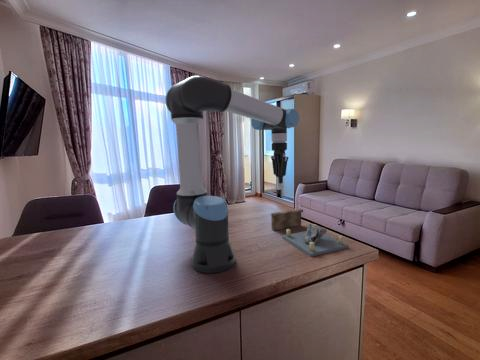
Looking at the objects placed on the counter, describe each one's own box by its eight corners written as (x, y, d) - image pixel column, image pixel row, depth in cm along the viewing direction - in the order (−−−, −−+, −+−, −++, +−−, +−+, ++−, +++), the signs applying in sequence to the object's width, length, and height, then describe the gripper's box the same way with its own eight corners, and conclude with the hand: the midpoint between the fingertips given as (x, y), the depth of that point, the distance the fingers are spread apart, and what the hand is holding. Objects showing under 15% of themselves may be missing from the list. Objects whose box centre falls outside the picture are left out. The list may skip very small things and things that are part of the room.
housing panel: (274, 231, 118) (274, 214, 116) (271, 229, 120) (271, 212, 119) (303, 226, 123) (303, 210, 122) (299, 224, 126) (299, 208, 125)
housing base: (310, 256, 91) (311, 245, 91) (282, 238, 110) (282, 229, 109) (348, 247, 98) (348, 237, 97) (315, 231, 116) (315, 223, 116)
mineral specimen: (307, 250, 105) (328, 251, 98) (295, 240, 102) (315, 241, 94) (313, 230, 110) (333, 229, 102) (302, 220, 107) (321, 219, 99)
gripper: (293, 141, 118) (293, 190, 121) (279, 142, 130) (279, 186, 133) (279, 142, 115) (279, 192, 119) (266, 142, 127) (266, 188, 131)
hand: (279, 189), depth 126 cm, fingers closed
